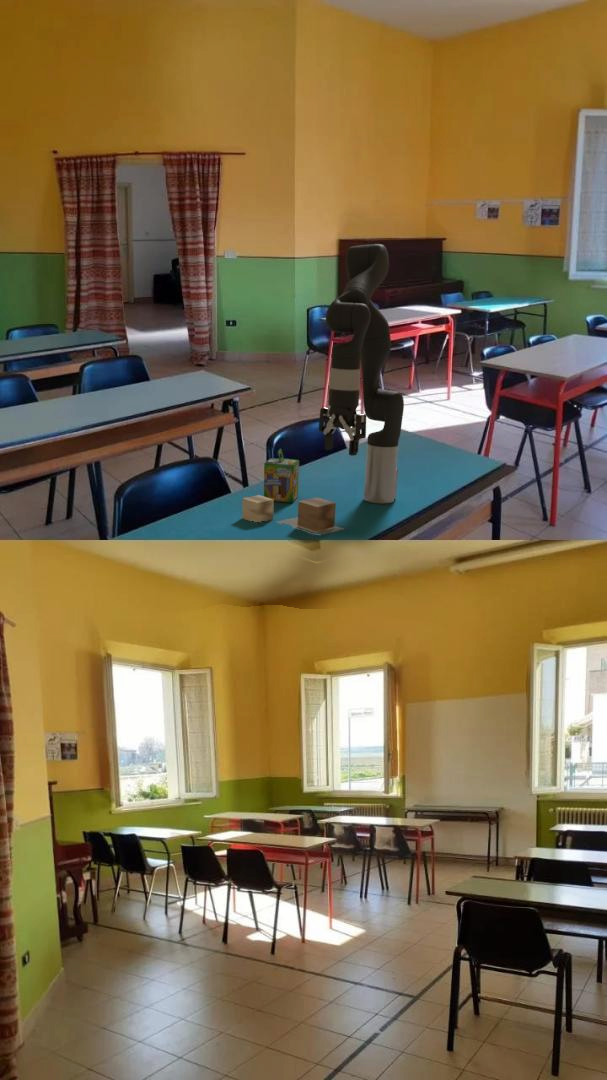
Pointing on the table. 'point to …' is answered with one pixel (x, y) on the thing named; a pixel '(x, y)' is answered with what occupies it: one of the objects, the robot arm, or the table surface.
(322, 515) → the walnut block
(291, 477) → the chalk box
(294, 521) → the reading mat
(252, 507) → the beech block
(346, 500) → the table surface
